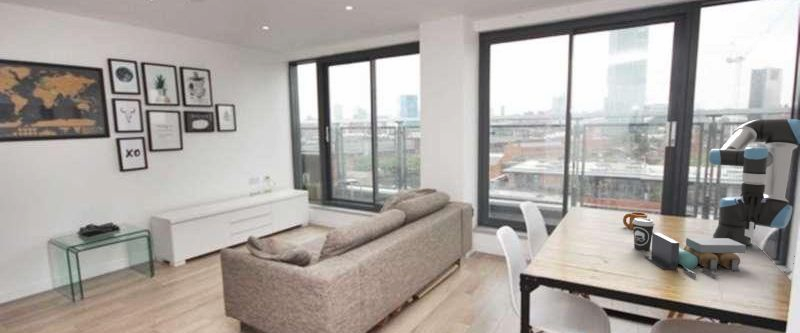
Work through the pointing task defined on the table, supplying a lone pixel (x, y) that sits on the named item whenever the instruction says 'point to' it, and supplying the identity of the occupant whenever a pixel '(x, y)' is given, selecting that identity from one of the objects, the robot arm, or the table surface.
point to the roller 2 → (702, 256)
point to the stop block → (664, 252)
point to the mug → (632, 216)
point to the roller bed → (713, 268)
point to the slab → (715, 245)
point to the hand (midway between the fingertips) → (748, 236)
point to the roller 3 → (726, 258)
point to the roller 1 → (687, 259)
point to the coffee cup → (642, 233)
